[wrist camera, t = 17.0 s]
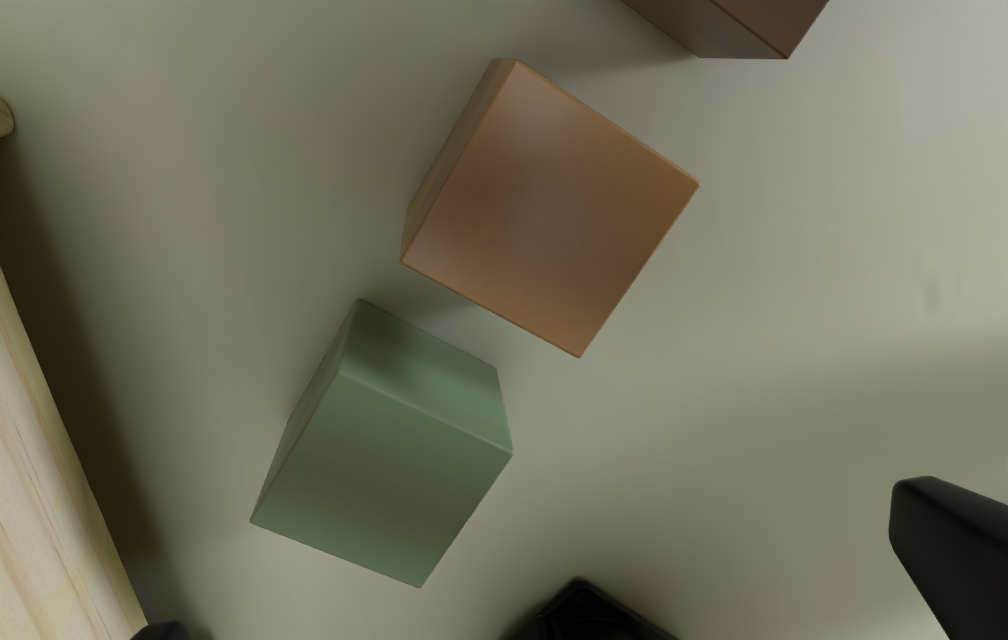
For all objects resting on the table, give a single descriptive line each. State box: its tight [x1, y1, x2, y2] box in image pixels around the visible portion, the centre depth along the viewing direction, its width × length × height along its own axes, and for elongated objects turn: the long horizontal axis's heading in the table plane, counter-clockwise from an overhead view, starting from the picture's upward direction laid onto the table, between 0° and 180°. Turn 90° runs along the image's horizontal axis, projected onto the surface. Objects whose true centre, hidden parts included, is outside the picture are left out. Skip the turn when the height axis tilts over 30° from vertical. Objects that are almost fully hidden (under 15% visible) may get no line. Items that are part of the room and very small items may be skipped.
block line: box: [250, 0, 829, 588], centre depth 16 cm, size 30×8×5 cm, turn 148°
